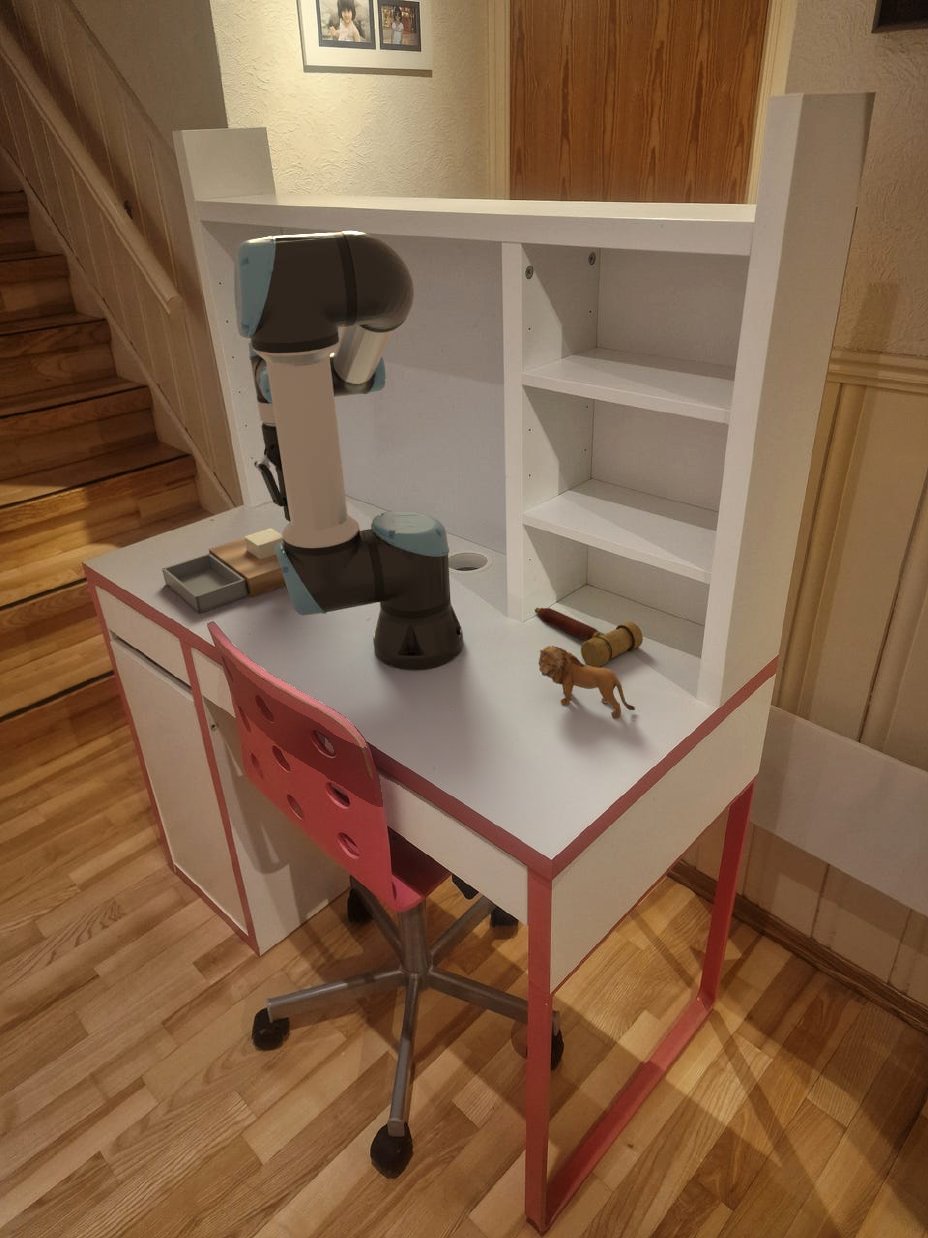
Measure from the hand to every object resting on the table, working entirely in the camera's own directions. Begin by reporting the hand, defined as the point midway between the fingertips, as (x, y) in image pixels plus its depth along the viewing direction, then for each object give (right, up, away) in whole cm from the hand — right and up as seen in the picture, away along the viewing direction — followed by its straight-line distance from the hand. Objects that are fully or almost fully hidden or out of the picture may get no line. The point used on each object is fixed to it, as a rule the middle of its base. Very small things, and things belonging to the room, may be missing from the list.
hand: (297, 533), depth 173 cm
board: (-7, -8, -2) cm, 11 cm away
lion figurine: (+52, -30, -46) cm, 76 cm away
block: (-6, -4, -3) cm, 7 cm away
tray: (-16, -12, -8) cm, 22 cm away
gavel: (+53, -21, -28) cm, 64 cm away
